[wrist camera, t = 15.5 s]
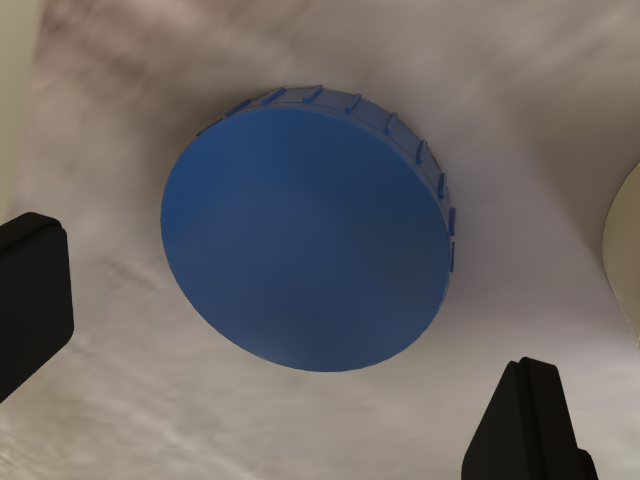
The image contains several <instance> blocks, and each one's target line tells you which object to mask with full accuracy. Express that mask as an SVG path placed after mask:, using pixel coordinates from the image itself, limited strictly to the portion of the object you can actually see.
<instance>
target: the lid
mask: <svg viewBox="0 0 640 480" xmlns="http://www.w3.org/2000/svg"><path fill="white" fill-rule="evenodd" d="M361 96H362V95H361V94H357V95H356V96H353V95H350V94H346V93H343V92H339V91H333V90H327V89H323V85H318V86H316V87H315V88H298V89H290V90H285V88H284V87H280V88H279V89H277V90H276V91H274V92H272V93H271V94H267V95H265V96H262V97H260V98H258V99H255V100H253V101H251V100H250V98H249V99H247V100H245V101H244V102H242V103H240V104H239V105H237V106H236V107H234V108H232V109H231V110H229V111H227V112H226V113H225V115H226V117H225V118H224V119H223V118H221V119H220V120H218V121H217V122H215V123H213V124H212V125H210V126H209V127H207V128H205V129H204V130H202V131H201V132H199V133H198V134H197V135H196V136H197V138H195V139H194V140H193V141H192V142H191V143H190V144H189V145H188V147H187V148H186V149H185V150H184V151H183V153H182V154H181V155H180V156H179V158H178V160H177V162H176V163H175V165H174V167H173V168H172V170H171V172H170V175H169V178H168V180H167V183H166V185H165V189H164V194H163V199H162V203H161V218H160V221H161V235H162V240H163V245H164V250H165V254H166V257H167V260H168V263H169V266H170V268H171V270H172V273H173V275H174V277H175V279H176V281H177V283H178V285H179V286H180V288H181V290H182V291H183V293H184V294H185V296H186V297H187V299H188V300H189V301H190V303H191V304H192V305H193V307H194V308H195V309H196V310H197V312H198V313H199V314H200V315H201V316H202V317H203V318H204V319H205V320H206V321H207V322H208V323H209V324H210V325H211V326H212V327H213V328H215V329H216V330H217V331H218V332H219V333H220V334H222V335H223V336H224V337H226V338H227V339H229V340H230V341H231V342H233V343H234V344H236V345H238V346H239V347H241V348H243V349H244V350H246V351H248V352H250V353H252V354H254V355H256V356H258V357H260V358H262V359H265V360H268V361H270V362H273V363H276V364H279V365H283V366H286V367H290V368H294V369H300V370H306V371H315V372H341V371H349V370H355V369H361V368H364V367H368V366H371V365H375V364H377V363H380V362H382V361H384V360H386V359H389V358H391V357H393V356H394V355H396V354H398V353H399V352H401V351H403V350H404V349H406V348H407V347H408V346H409V345H410V344H412V343H413V342H414V341H415V340H417V339H418V338H419V336H420V335H421V334H422V333H423V332H424V331H425V330H426V329H427V328H428V327H429V325H430V323H431V322H432V320H433V319H434V317H435V316H436V314H437V313H438V311H439V308H440V306H441V304H442V302H443V300H444V297H445V294H446V290H447V286H448V283H449V276H450V272H453V269H454V245H455V242H452V236H455V213H456V211H455V208H452V207H451V202H450V197H449V192H448V189H447V187H446V177H447V176H446V174H445V173H441V171H440V169H439V168H438V166H437V164H436V162H435V160H434V158H433V157H432V155H431V154H430V153H429V151H428V150H427V148H426V145H427V142H426V141H425V140H423V141H421V140H419V138H418V137H417V136H416V135H415V134H414V133H413V132H412V131H411V130H410V129H409V128H408V127H407V126H405V125H404V124H403V123H402V122H401V121H399V120H398V119H397V116H398V115H397V114H396V113H395V112H394V113H393V114H390V113H388V112H387V111H385V110H383V109H382V108H380V107H379V106H377V105H375V104H373V103H370V102H368V101H366V100H364V99H362V98H361Z"/></svg>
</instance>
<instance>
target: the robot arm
mask: <svg viewBox="0 0 640 480" xmlns="http://www.w3.org/2000/svg"><path fill="white" fill-rule="evenodd" d="M73 331H74V318H73V306H72V293H71V280H70V268H69V255H68V243H67V234H66V231H65V229H63V228H62V226H61V223H60V222H59V221H58V220H57V219H55V218H51V217H48V216H44V215H41V214H37V213H34V212H27V213H24V214H22V215H20V216H18V217H17V218H15V219H13V220H11V221H9V222H7V223H5V224H3V225H1V226H0V403H2V402H3V401H4V400H5V399H6V398H7V397H8V396H9V395H10V394H11V393H13V392H14V391H15V390H16V389H17V388H18V387H19V386H20V385H21V384H23V383H24V382H25V381H26V380H27V379H28V378H29V377H30V376H31V375H33V374H34V373H35V372H36V371H37V370H38V369H39V368H40V367H41V366H42V365H44V364H45V363H46V362H47V361H48V360H49V359H50V358H51V357H52V356H54V355H55V354H56V353H57V352H58V351H59V350H60V349H61V348H62V347H63V346H65V345H66V344H67V343H68V341H69V340H70V338H71V337H72V334H73ZM461 480H598V477H597V473H596V469H595V466H594V463H593V460H592V458H591V455H590V454H589V453H588V452H587V451H585V450H582V449H579V448H578V447H577V443H576V439H575V435H574V431H573V427H572V423H571V419H570V415H569V412H568V408H567V404H566V400H565V396H564V392H563V388H562V384H561V380H560V376H559V372H558V369H557V367H556V366H555V365H552V364H548V363H545V362H541V361H538V360H535V359H531V358H528V357H523V358H522V359H521V360H520V361H519V363H517V362H514V361H510V362H509V363H508V365H507V367H506V369H505V371H504V373H503V375H502V377H501V379H500V381H499V384H498V386H497V388H496V390H495V392H494V394H493V396H492V398H491V401H490V403H489V405H488V407H487V409H486V411H485V413H484V415H483V418H482V420H481V422H480V424H479V426H478V428H477V430H476V432H475V434H474V437H473V439H472V441H471V443H470V445H469V447H468V449H467V451H466V454H465V456H464V460H463V464H462V471H461Z"/></svg>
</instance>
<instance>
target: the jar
mask: <svg viewBox="0 0 640 480" xmlns="http://www.w3.org/2000/svg"><path fill="white" fill-rule="evenodd" d="M602 254H603V264H604V268H605V272H606V276H607V279H608V281H609V283H610V286H611V288H612V290H613V292H614V295H615V297H616V299H617V301H618V304H619V306H620V308H621V310H622V313H623V315H624V317H625V319H626V322H627V324H628V326H629V328H630V331H631V333H632V335H633V337H634V340H635V342H636V344H637V346H638V349H639V351H640V162H639V163H638V164H637V165H636V167H635V168H634V169H633V171H632V172H631V173H630V174H629V176H628V177H627V178H626V180H625V181H624V183H623V184H622V186H621V188H620V190H619V191H618V193H617V195H616V196H615V198H614V201H613V203H612V205H611V208H610V210H609V213H608V215H607V219H606V223H605V227H604V231H603V242H602Z"/></svg>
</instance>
